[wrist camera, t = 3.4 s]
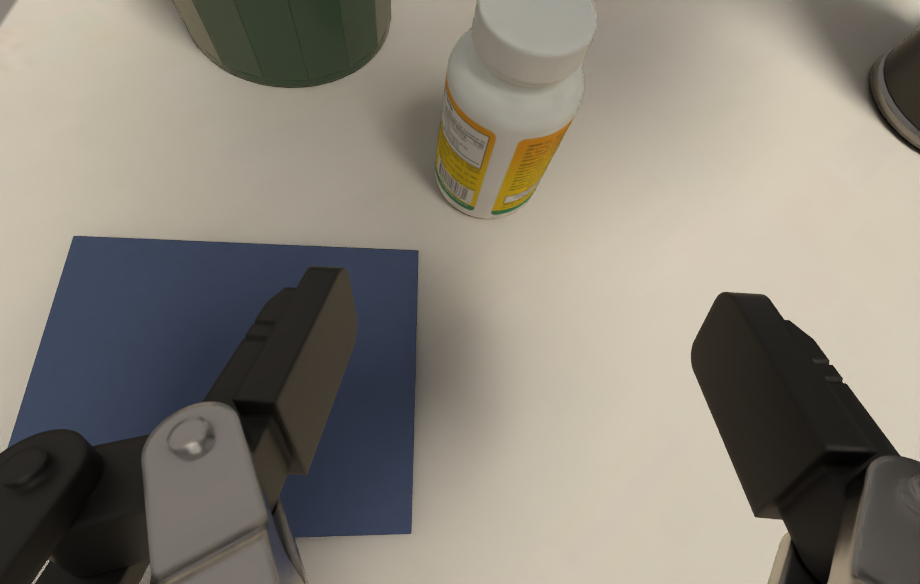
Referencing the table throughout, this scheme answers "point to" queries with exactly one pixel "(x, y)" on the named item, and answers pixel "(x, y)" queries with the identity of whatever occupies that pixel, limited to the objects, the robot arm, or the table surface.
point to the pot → (288, 37)
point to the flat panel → (211, 346)
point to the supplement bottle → (510, 100)
